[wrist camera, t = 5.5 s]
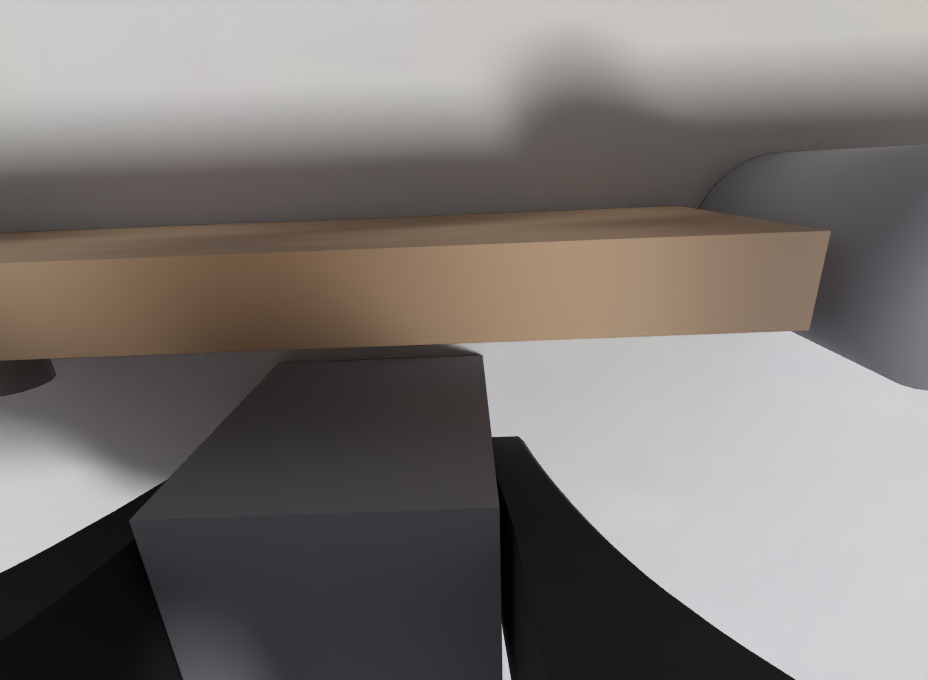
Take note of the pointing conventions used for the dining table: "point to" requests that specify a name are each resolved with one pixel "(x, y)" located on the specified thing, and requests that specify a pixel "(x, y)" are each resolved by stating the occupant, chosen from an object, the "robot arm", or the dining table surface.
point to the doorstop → (336, 529)
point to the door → (398, 283)
